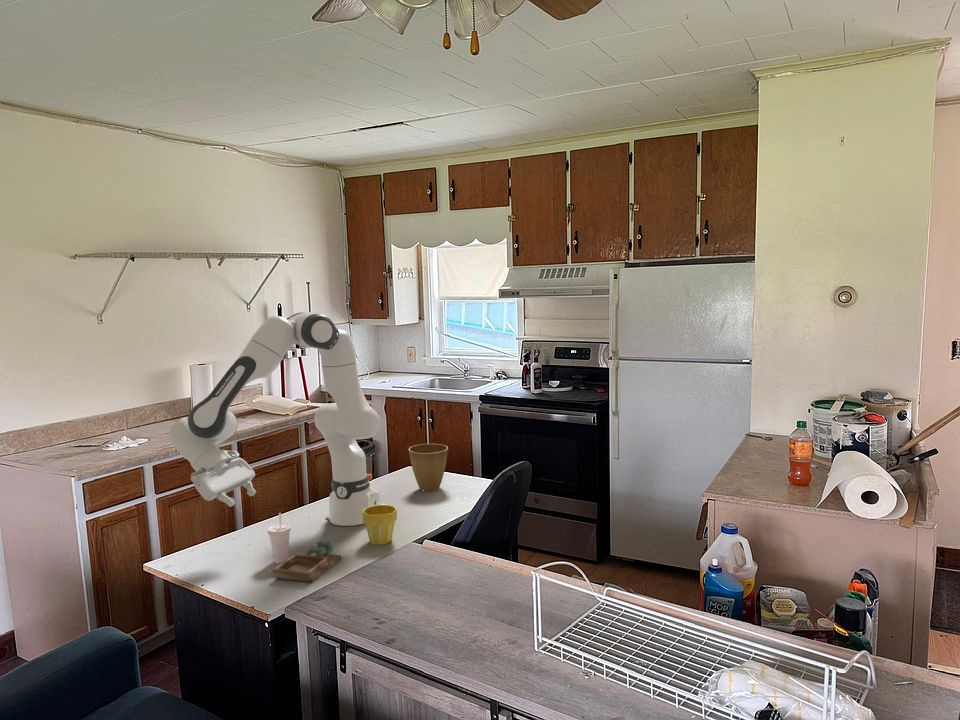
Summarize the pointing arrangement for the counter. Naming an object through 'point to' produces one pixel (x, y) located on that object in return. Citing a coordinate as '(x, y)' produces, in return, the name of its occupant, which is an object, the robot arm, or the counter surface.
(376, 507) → the plant pot
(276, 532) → the smoothie
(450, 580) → the counter surface
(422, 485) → the plant pot
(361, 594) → the counter surface
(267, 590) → the counter surface
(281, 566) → the brown wooden tray
